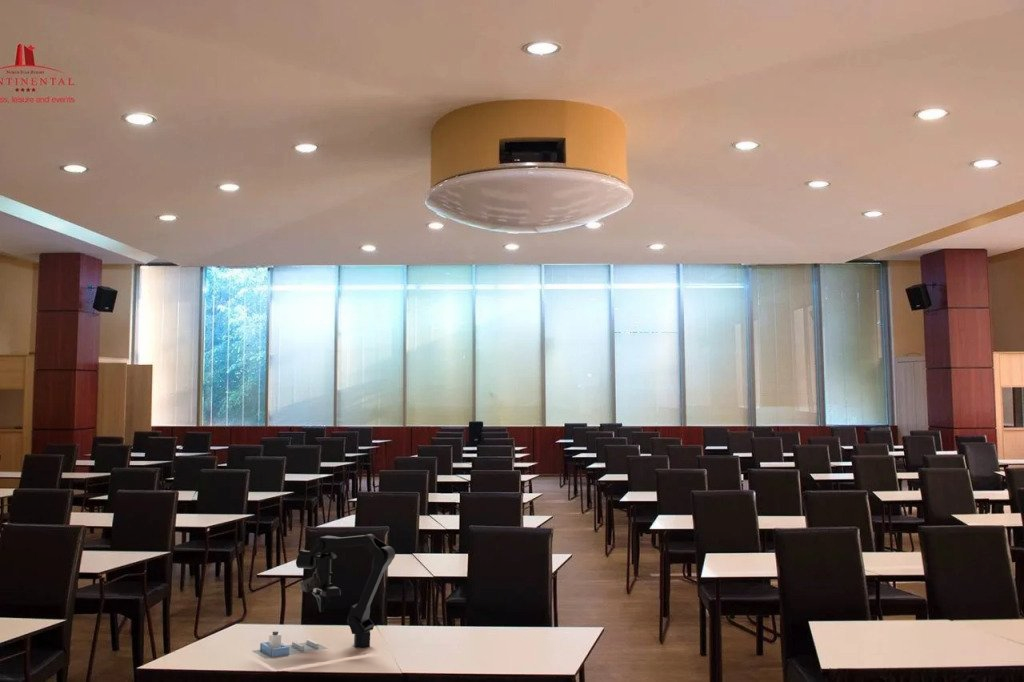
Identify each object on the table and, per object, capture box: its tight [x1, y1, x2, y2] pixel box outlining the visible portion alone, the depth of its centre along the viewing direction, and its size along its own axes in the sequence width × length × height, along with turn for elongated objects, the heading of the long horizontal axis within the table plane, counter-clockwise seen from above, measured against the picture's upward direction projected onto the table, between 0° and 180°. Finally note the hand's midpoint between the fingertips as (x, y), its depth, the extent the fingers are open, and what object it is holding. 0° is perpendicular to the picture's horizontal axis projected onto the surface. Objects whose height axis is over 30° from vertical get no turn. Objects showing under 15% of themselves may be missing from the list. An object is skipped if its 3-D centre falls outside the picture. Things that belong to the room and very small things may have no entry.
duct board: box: [252, 638, 327, 659], centre depth 309 cm, size 12×24×4 cm, turn 129°
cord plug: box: [268, 630, 282, 648], centre depth 306 cm, size 3×3×8 cm
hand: (321, 611), depth 322 cm, fingers closed
